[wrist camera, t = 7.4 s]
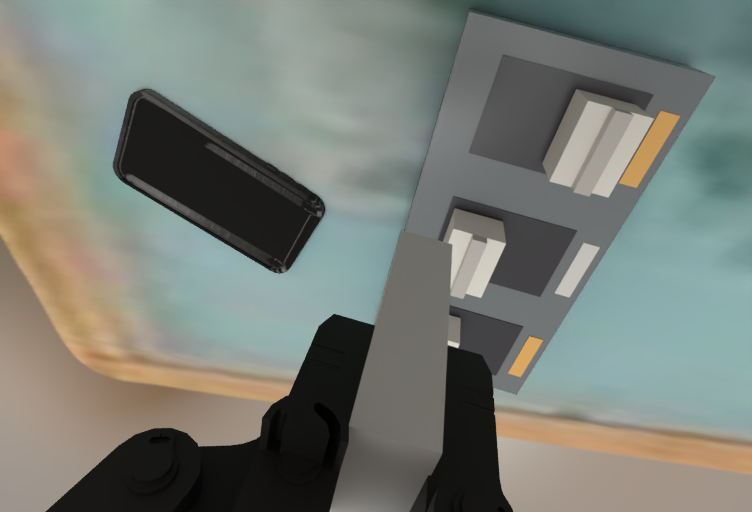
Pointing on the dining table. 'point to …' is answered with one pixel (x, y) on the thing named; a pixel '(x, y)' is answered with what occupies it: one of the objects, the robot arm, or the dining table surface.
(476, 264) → the switch tab
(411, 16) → the dining table surface
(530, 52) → the switch board
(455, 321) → the switch tab
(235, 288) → the dining table surface
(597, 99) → the switch tab
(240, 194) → the phone
